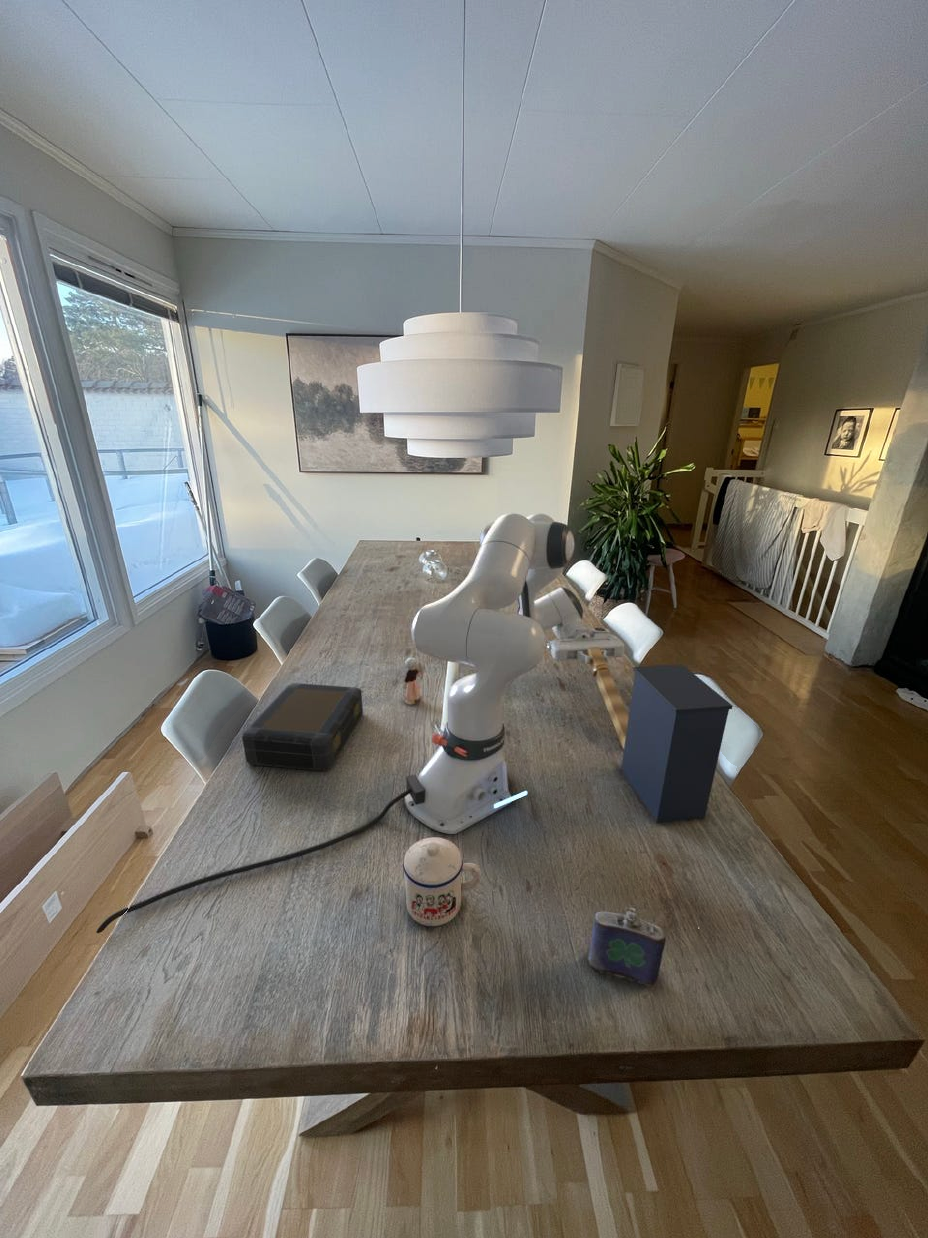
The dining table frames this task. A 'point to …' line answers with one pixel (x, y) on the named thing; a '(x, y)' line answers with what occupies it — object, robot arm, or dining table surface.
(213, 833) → the dining table surface
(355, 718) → the black hard case
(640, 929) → the flask
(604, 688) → the ring rod
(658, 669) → the stand
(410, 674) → the grandmother figurine
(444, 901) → the teacup with lid
